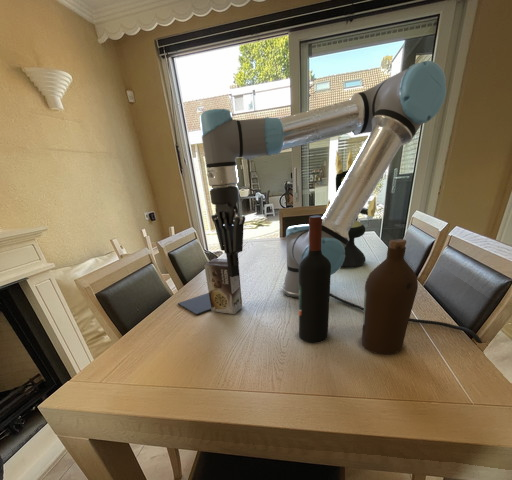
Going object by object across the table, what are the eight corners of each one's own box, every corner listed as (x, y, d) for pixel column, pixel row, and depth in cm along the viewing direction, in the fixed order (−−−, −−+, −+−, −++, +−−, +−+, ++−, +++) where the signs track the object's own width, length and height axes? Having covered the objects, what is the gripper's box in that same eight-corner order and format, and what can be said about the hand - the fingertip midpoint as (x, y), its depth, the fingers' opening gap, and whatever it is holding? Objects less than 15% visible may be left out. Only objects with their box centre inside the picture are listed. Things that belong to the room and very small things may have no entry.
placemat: (237, 299, 105) (237, 298, 105) (196, 315, 96) (196, 314, 96) (217, 291, 115) (217, 289, 114) (178, 304, 106) (177, 303, 106)
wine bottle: (310, 346, 74) (312, 220, 59) (293, 334, 80) (291, 217, 65) (333, 337, 77) (341, 215, 62) (315, 326, 83) (318, 212, 68)
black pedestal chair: (324, 270, 126) (328, 146, 104) (322, 256, 145) (326, 149, 122) (369, 268, 123) (384, 140, 100) (362, 255, 141) (373, 144, 119)
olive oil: (410, 341, 72) (433, 236, 59) (396, 361, 65) (418, 248, 53) (368, 330, 78) (381, 233, 66) (351, 347, 72) (361, 244, 59)
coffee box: (243, 306, 99) (239, 259, 90) (234, 315, 94) (229, 266, 85) (220, 302, 102) (214, 257, 94) (210, 310, 97) (203, 263, 89)
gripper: (198, 188, 77) (212, 274, 89) (226, 187, 68) (237, 283, 80) (221, 185, 81) (232, 268, 93) (250, 184, 72) (258, 276, 84)
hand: (234, 275), depth 86 cm, fingers closed
